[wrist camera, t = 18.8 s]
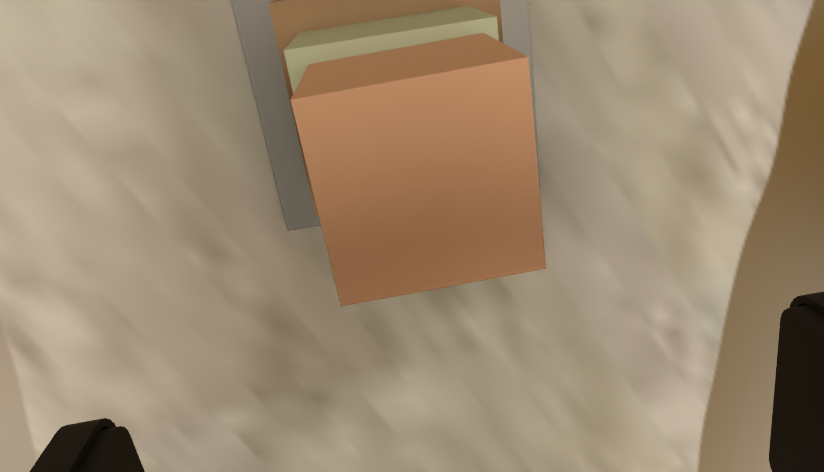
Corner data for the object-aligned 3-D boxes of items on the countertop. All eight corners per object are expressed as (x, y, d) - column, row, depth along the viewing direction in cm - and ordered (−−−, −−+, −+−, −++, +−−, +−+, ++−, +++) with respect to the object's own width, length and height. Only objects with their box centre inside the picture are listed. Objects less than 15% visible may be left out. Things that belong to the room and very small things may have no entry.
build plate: (535, 183, 30) (539, 189, 29) (289, 224, 30) (287, 230, 29) (517, -95, 25) (522, -97, 24) (222, -49, 25) (218, -49, 24)
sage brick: (483, 167, 24) (512, 214, 20) (332, 191, 24) (326, 244, 20) (467, 5, 22) (496, 16, 17) (299, 32, 22) (283, 50, 17)
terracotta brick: (501, 197, 19) (546, 268, 15) (344, 225, 19) (341, 306, 15) (483, 32, 17) (528, 56, 13) (308, 64, 17) (290, 99, 13)
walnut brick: (494, 155, 28) (514, 183, 25) (321, 183, 28) (316, 216, 25) (477, -34, 25) (497, -33, 21) (281, -3, 25) (267, 3, 21)
